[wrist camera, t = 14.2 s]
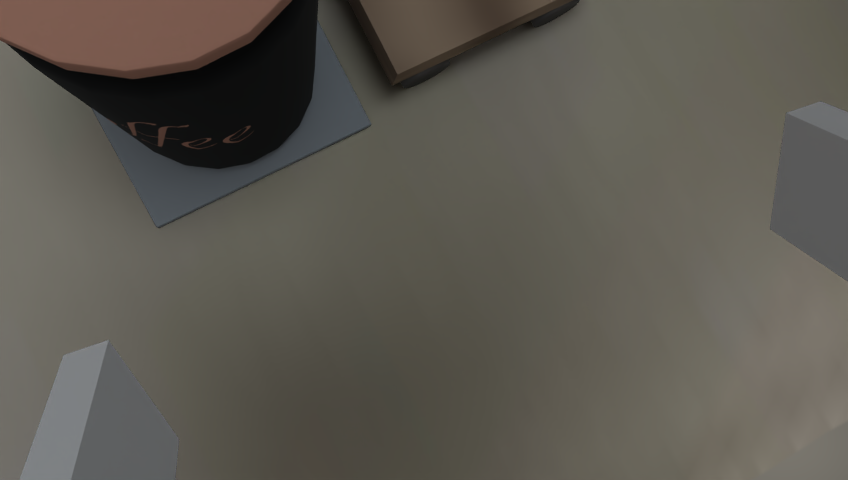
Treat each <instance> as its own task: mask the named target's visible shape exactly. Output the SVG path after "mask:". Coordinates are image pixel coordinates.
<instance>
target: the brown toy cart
mask: <svg viewBox="0 0 848 480" xmlns="http://www.w3.org/2000/svg"><path fill="white" fill-rule="evenodd" d="M348 1H349V3H350V5H351V7H352V9H353V11H354V13H355V14H356V16H357V18H358V20H359V22H360V24H361V26H362V28H363V30H364V32H365V34H366V36H367V38H368V40H369V42H370V44H371V46H372V48H373V50H374V52H375V54H376V56H377V57H378V59H379V61H380V63H381V65H382V67H383V69H384V71H385V73H386V75H387V77H388V79H389V81H390V83H391V85H395V84H397V83H399V82H401V84H402V86H403V88H409V87H412V86H415V85H418V84H420V83H422V82H424V81H426V80H428V79H430V78H431V77H433V76H435V75H436V74H438V73H439V72H441V71H442V70H444V69H445V68H446V67H447V66H448V65H449V64H450V62H449V60H448V59H450V58H452V57H454V56H456V55H458V54H460V53H462V52H465V51H467V50H469V49H471V48H473V47H475V46H477V45H479V44H481V43H484V42H486V41H488V40H490V39H492V38H494V37H496V36H498V35H501V34H503V33H505V32H507V31H509V30H511V29H513V28H515V27H518V26H520V25H522V24H524V23H526V22H528V21H530V20H531V22H532V24H533V26H534V27H539V26H541V25H544V24H546V23H548V22H550V21H552V20H554V19H556V18H557V17H559V16H561V15H562V14H564V13H565V12H567V11H568V10H570V9H571V8H573V7H574V6H575V5H576V4H577V3H578V2H579V1H580V0H348Z"/></svg>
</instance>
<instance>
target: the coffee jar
mask: <svg viewBox="0 0 848 480" xmlns="http://www.w3.org/2000/svg"><path fill="white" fill-rule="evenodd" d="M317 14H318V0H0V40H1V41H3V42H5V43H6V44H8V45H9V46H10V47H11V48H12V49H13V50H15V51H16V52H17V53H18V54H19V55H20V56H22V57H23V58H24V59H25V60H26V61H28V62H29V63H30V64H31V65H32V66H33V67H35V68H36V69H37V70H39V71H40V72H42V73H43V74H44V75H46V76H47V77H49V78H50V79H52V80H53V81H54V82H56V83H57V84H59V85H60V86H61V87H63V88H64V89H66V90H67V91H69V92H70V93H71V94H73V95H74V96H76V97H77V98H78V99H80V100H81V101H83V102H84V103H86V104H87V105H88V106H90V107H91V108H93V109H94V110H95V111H97V112H98V113H100V114H101V115H103V116H104V117H105V118H107V119H108V120H110V121H111V122H112V123H114V124H115V125H117V126H118V127H119V128H121V129H122V130H124V131H125V132H127V133H128V134H129V135H131V136H132V137H134V138H135V139H136V140H138V141H139V142H141V143H142V144H144V145H145V146H146V147H148V148H149V149H151V150H152V151H153V152H155V153H158V154H160V155H162V156H165V157H167V158H169V159H172V160H174V161H176V162H179V163H181V164H183V165H186V166H195V167H204V168H213V169H222V168H227V167H233V166H238V165H243V164H248V163H252V162H254V161H255V160H257V159H259V158H261V157H263V156H265V155H267V154H268V153H270V152H272V151H274V150H276V149H278V148H279V147H280V146H281V145H282V144H283V143H284V142H285V141H286V139H287V138H288V137H289V136H290V135H291V134H292V133H293V132H294V131H295V130H296V129H297V128H298V127H299V126H300V123H301V121H302V119H303V117H304V115H305V112H306V110H307V108H308V106H309V104H310V101H311V99H312V93H313V83H314V72H315V56H316V35H317Z"/></svg>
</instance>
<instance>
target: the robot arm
mask: <svg viewBox="0 0 848 480" xmlns="http://www.w3.org/2000/svg"><path fill="white" fill-rule="evenodd" d="M770 229H771V230H772V231H774V232H775V233H777V234H778V235H780V236H781V237H783V238H784V239H786V240H787V241H789V242H790V243H792V244H793V245H795V246H796V247H798V248H799V249H800V250H802V251H803V252H805V253H806V254H808V255H809V256H811V257H812V258H814V259H815V260H817V261H818V262H820V263H821V264H823V265H824V266H826V267H827V268H829V269H830V270H832V271H833V272H835V273H836V274H838V275H839V276H840V277H842V278H843V279H845V280H846V281H848V112H847V111H844V110H842V109H839V108H837V107H834V106H832V105H829V104H827V103H824V102H822V101H820V102H817V103H814V104H811V105H808V106H805V107H802V108H799V109H796V110H793V111H790V112H787V113H786V116H785V124H784V131H783V138H782V145H781V152H780V159H779V167H778V174H777V181H776V188H775V195H774V202H773V209H772V217H771V224H770ZM178 447H179V438H178V436H177V435H176V434H175V432H174V431H173V429H172V428H171V427H170V425H169V424H168V422H167V421H166V420H165V418H164V417H163V415H162V414H161V413H160V411H159V410H158V408H157V407H156V406H155V404H154V403H153V401H152V400H151V399H150V397H149V396H148V394H147V393H146V392H145V390H144V389H143V387H142V386H141V385H140V383H139V382H138V380H137V379H136V378H135V376H134V375H133V373H132V372H131V371H130V369H129V368H128V366H127V365H126V364H125V362H124V361H123V359H122V358H121V357H120V355H119V354H118V352H117V351H116V350H115V348H114V347H113V345H112V344H111V343H110V341H109V340H107V341H104V342H101V343H98V344H95V345H92V346H89V347H86V348H83V349H80V350H77V351H74V352H71V353H68V354H65V355H64V356H63V358H62V361H61V364H60V367H59V370H58V373H57V375H56V378H55V381H54V384H53V387H52V389H51V392H50V395H49V398H48V401H47V404H46V406H45V409H44V412H43V415H42V418H41V421H40V423H39V426H38V429H37V432H36V435H35V438H34V440H33V443H32V446H31V449H30V452H29V455H28V457H27V460H26V463H25V466H24V469H23V472H22V474H21V477H20V480H175V477H176V467H177V457H178Z"/></svg>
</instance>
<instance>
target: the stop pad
mask: <svg viewBox="0 0 848 480" xmlns="http://www.w3.org/2000/svg"><path fill="white" fill-rule="evenodd" d="M92 110H93V112H94V114H95V115H96V117H97V119H98V121H99V123H100V125H101V126H102V128H103V130H104V132H105V134H106V135H107V137H108V139H109V141H110V143H111V145H112V146H113V148H114V150H115V152H116V154H117V156H118V157H119V159H120V161H121V163H122V165H123V167H124V168H125V170H126V172H127V174H128V176H129V178H130V179H131V181H132V183H133V185H134V187H135V188H136V190H137V192H138V194H139V196H140V198H141V199H142V201H143V203H144V205H145V207H146V209H147V210H148V212H149V214H150V216H151V218H152V220H153V221H154V223H155V225H156V227H158V228H160V227H162V226H164V225H166V224H169V223H171V222H173V221H175V220H177V219H179V218H181V217H183V216H185V215H187V214H189V213H191V212H193V211H195V210H198V209H200V208H202V207H204V206H206V205H208V204H210V203H212V202H214V201H216V200H218V199H220V198H222V197H225V196H227V195H229V194H231V193H233V192H235V191H237V190H239V189H241V188H243V187H245V186H247V185H249V184H251V183H254V182H256V181H258V180H260V179H262V178H264V177H266V176H268V175H270V174H272V173H274V172H276V171H278V170H281V169H283V168H285V167H287V166H289V165H291V164H293V163H295V162H297V161H299V160H301V159H303V158H305V157H307V156H310V155H312V154H314V153H316V152H318V151H320V150H322V149H324V148H326V147H328V146H330V145H332V144H334V143H337V142H339V141H341V140H343V139H345V138H347V137H349V136H351V135H353V134H355V133H357V132H359V131H361V130H363V129H366V128H368V127H370V126H371V123H370V121H369V119H368V117H367V115H366V113H365V111H364V109H363V107H362V105H361V103H360V101H359V99H358V97H357V95H356V93H355V92H354V90H353V88H352V86H351V84H350V82H349V80H348V78H347V76H346V74H345V72H344V70H343V68H342V66H341V64H340V63H339V61H338V59H337V57H336V55H335V53H334V51H333V49H332V47H331V45H330V43H329V41H328V39H327V37H326V35H325V33H324V32H323V30H322V28H321V26H320V24H319V22H318V20H317V35H316V56H315V72H314V83H313V93H312V99H311V101H310V104H309V106H308V108H307V110H306V112H305V115H304V117H303V119H302V121H301V123H300V126H299V127H298V128H297V129H296V130H295V131H294V132H293V133H292V134H291V135H290V136H289V137H288V138H287V139H286V141H285V142H284V143H283V144H282V145H281V146H280V147H279V148H278V149H276V150H274V151H272V152H270V153H268V154H267V155H265V156H263V157H261V158H259V159H257V160H255V161H254V162H252V163H248V164H243V165H238V166H233V167H227V168H222V169H213V168H204V167H195V166H186V165H183V164H181V163H179V162H176V161H174V160H172V159H169V158H167V157H165V156H162V155H160V154H158V153H155V152H153V151H152V150H151V149H149V148H148V147H146V146H145V145H144V144H142V143H141V142H139V141H138V140H136V139H135V138H134V137H132V136H131V135H129V134H128V133H127V132H125V131H124V130H122V129H121V128H119V127H118V126H117V125H115V124H114V123H112V122H111V121H110V120H108V119H107V118H105V117H104V116H103V115H101V114H100V113H98V112H97V111H95V110H94V109H93V108H92Z"/></svg>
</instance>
